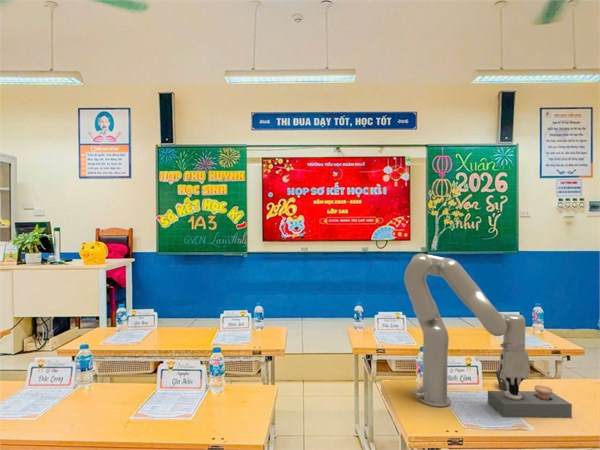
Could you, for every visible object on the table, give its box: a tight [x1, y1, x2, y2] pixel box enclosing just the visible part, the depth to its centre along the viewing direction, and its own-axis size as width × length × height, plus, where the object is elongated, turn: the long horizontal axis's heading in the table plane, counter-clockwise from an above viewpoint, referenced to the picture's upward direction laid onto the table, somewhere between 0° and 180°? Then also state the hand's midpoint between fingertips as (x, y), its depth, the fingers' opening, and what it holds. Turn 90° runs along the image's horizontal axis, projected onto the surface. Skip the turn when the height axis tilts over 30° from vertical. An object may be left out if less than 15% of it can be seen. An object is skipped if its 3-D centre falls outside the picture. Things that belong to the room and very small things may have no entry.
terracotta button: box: [534, 385, 553, 400], centre depth 155 cm, size 6×6×5 cm
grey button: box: [504, 390, 522, 400], centre depth 155 cm, size 6×6×5 cm
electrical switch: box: [495, 367, 509, 391], centre depth 177 cm, size 9×5×9 cm, turn 141°
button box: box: [487, 390, 573, 419], centre depth 155 cm, size 26×12×5 cm, turn 92°
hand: (513, 393), depth 155 cm, fingers closed
